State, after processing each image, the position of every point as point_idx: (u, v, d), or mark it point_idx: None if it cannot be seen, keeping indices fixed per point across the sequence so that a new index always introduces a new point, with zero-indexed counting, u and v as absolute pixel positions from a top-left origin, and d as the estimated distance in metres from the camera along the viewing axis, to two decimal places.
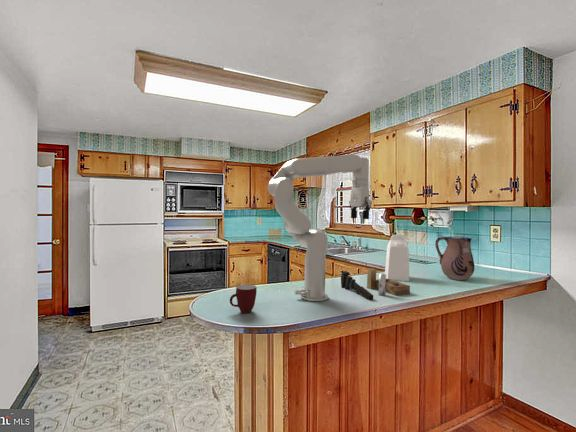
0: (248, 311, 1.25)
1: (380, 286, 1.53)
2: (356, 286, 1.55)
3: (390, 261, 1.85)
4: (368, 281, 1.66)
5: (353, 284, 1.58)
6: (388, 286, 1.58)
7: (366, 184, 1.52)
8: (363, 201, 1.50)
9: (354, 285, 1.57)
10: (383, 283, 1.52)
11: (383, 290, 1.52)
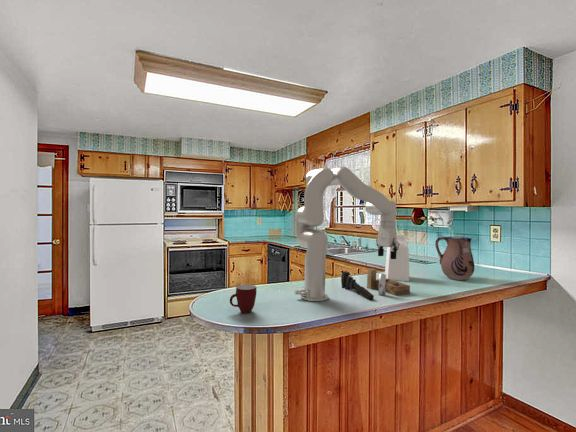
0: (248, 311, 1.25)
1: (380, 286, 1.53)
2: (356, 286, 1.55)
3: (390, 261, 1.85)
4: (368, 281, 1.66)
5: (353, 284, 1.58)
6: (388, 286, 1.58)
7: (393, 226, 1.62)
8: (391, 242, 1.60)
9: (354, 285, 1.57)
10: (383, 283, 1.52)
11: (383, 290, 1.52)
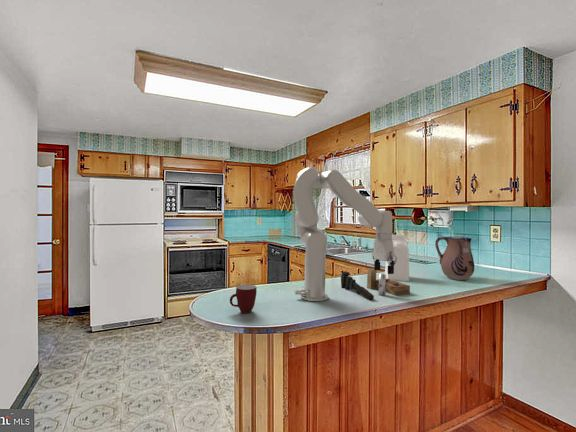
0: (248, 311, 1.25)
1: (380, 286, 1.53)
2: (356, 286, 1.55)
3: (390, 261, 1.85)
4: (368, 281, 1.66)
5: (353, 284, 1.58)
6: (388, 286, 1.58)
7: (390, 238, 1.50)
8: (388, 256, 1.48)
9: (354, 285, 1.57)
10: (383, 283, 1.52)
11: (383, 290, 1.52)
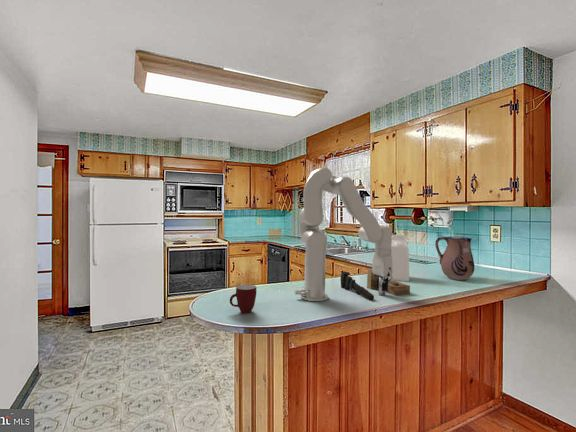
0: (248, 311, 1.25)
1: (380, 286, 1.53)
2: (356, 286, 1.55)
3: None
4: (368, 281, 1.66)
5: (353, 284, 1.57)
6: (388, 286, 1.58)
7: (389, 254, 1.50)
8: (386, 272, 1.48)
9: (354, 285, 1.57)
10: None
11: None
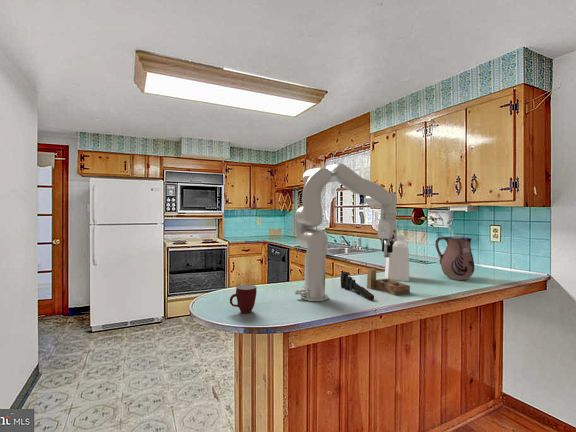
0: (248, 311, 1.25)
1: (385, 248, 1.64)
2: (356, 286, 1.55)
3: (390, 261, 1.85)
4: (368, 281, 1.66)
5: (353, 284, 1.57)
6: (388, 286, 1.58)
7: (394, 218, 1.62)
8: (391, 234, 1.60)
9: (354, 285, 1.56)
10: None
11: None
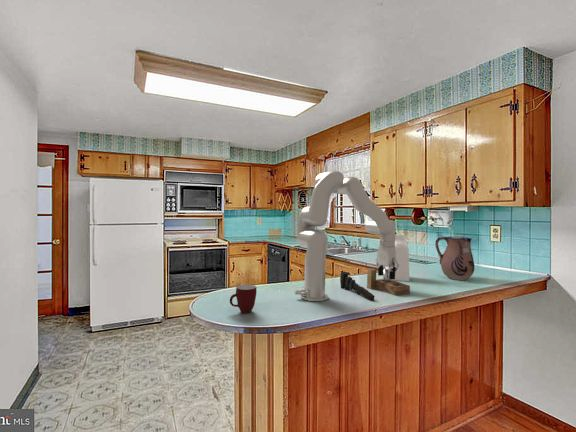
0: (248, 311, 1.25)
1: (384, 280, 1.65)
2: (356, 286, 1.55)
3: None
4: (368, 281, 1.66)
5: (353, 284, 1.57)
6: (388, 286, 1.58)
7: (393, 245, 1.62)
8: (390, 262, 1.60)
9: (354, 285, 1.56)
10: (387, 277, 1.65)
11: None
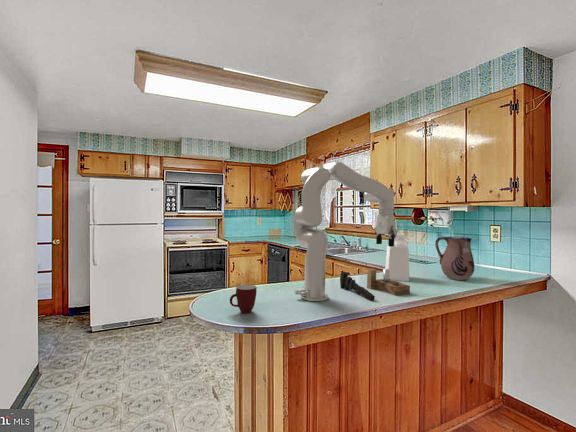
0: (248, 311, 1.25)
1: (384, 280, 1.65)
2: (356, 287, 1.54)
3: (390, 261, 1.85)
4: (368, 281, 1.66)
5: (353, 285, 1.57)
6: (388, 286, 1.58)
7: (392, 213, 1.63)
8: (389, 230, 1.61)
9: (354, 286, 1.56)
10: (387, 277, 1.65)
11: None
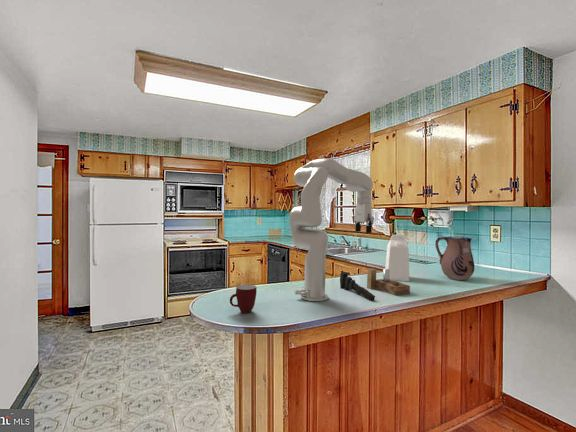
0: (248, 311, 1.25)
1: (384, 280, 1.65)
2: (356, 287, 1.54)
3: (390, 261, 1.85)
4: (368, 281, 1.66)
5: (353, 285, 1.57)
6: (388, 286, 1.58)
7: (369, 202, 1.73)
8: (366, 217, 1.71)
9: (354, 286, 1.56)
10: (387, 277, 1.65)
11: None
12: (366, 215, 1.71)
